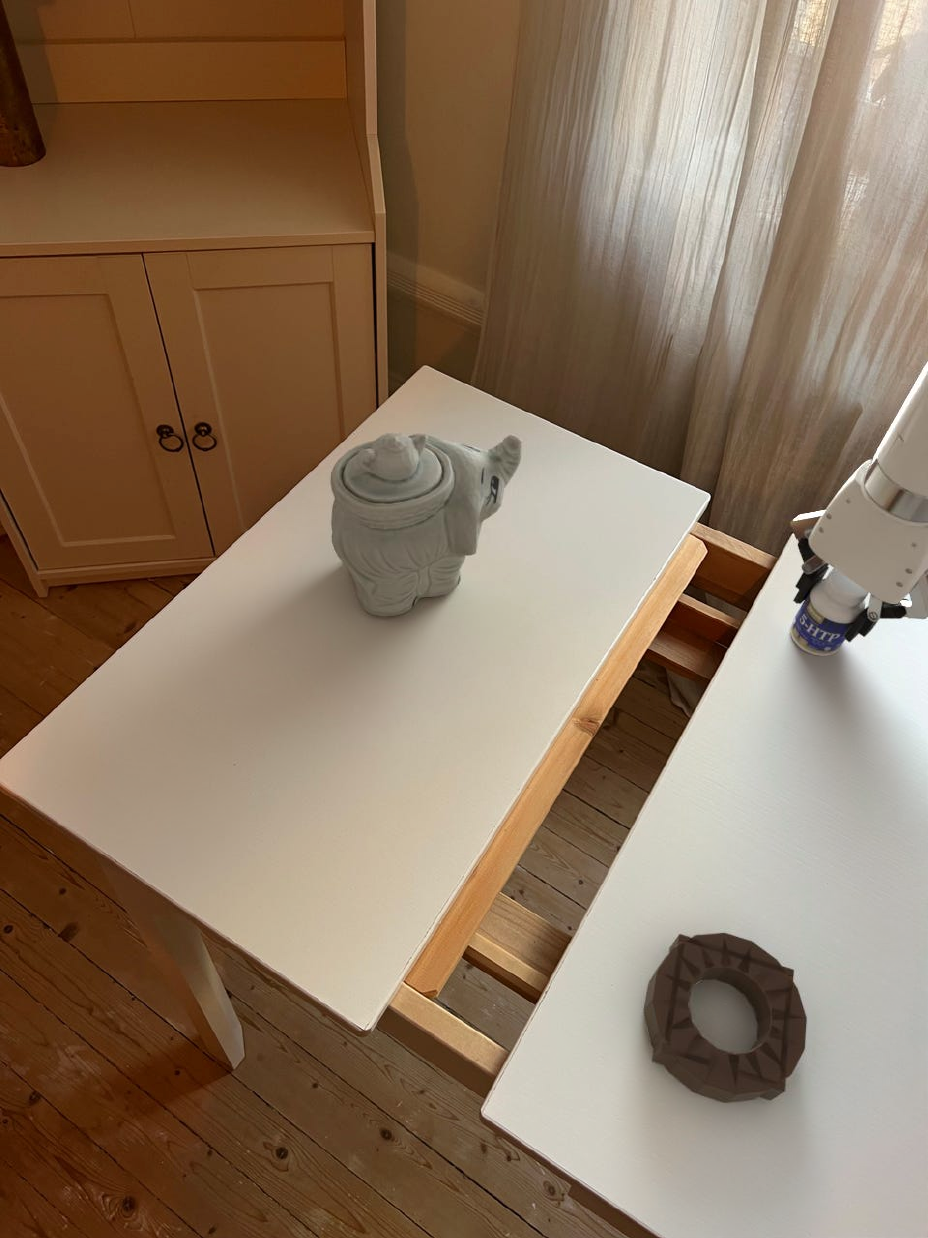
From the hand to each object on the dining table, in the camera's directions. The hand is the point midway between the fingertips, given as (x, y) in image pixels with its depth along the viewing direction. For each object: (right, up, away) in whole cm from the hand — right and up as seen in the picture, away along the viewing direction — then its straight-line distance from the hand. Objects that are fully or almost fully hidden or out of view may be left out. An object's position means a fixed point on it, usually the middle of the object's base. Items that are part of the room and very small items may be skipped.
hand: (829, 613), depth 95 cm
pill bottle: (0, -2, +3) cm, 4 cm away
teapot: (-40, +5, +4) cm, 41 cm away
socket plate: (-17, -31, -21) cm, 41 cm away
